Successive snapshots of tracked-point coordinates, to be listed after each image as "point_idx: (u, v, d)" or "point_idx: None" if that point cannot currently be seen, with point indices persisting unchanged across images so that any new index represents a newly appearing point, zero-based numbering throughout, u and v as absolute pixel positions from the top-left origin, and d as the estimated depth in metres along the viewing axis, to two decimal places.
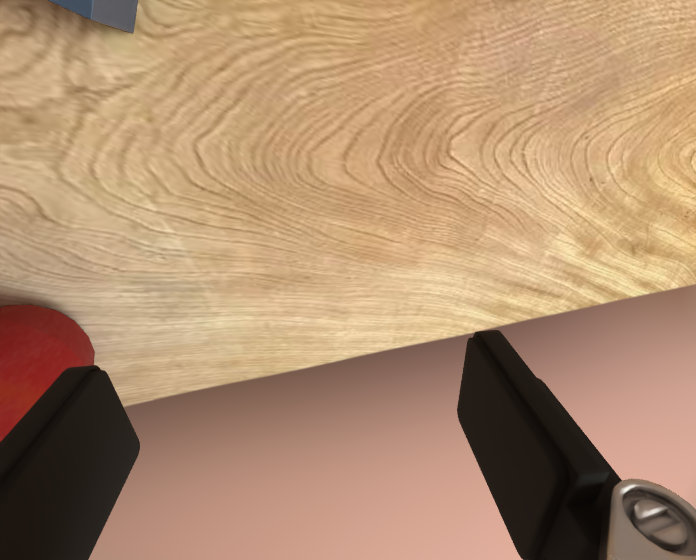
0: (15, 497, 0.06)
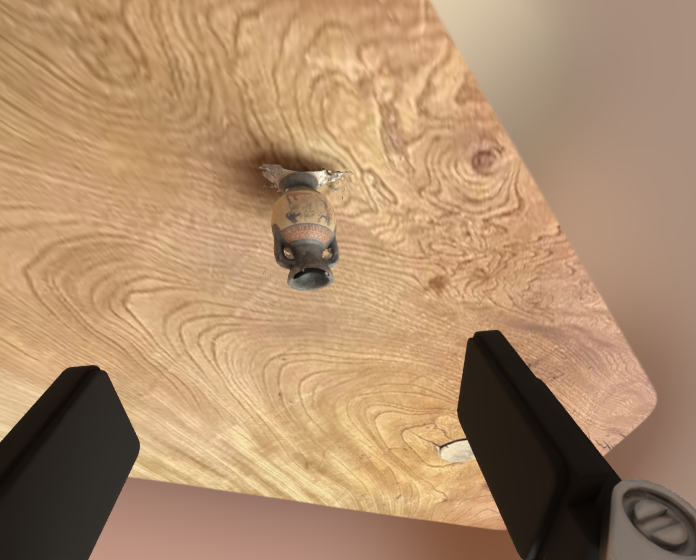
0: (15, 497, 0.06)
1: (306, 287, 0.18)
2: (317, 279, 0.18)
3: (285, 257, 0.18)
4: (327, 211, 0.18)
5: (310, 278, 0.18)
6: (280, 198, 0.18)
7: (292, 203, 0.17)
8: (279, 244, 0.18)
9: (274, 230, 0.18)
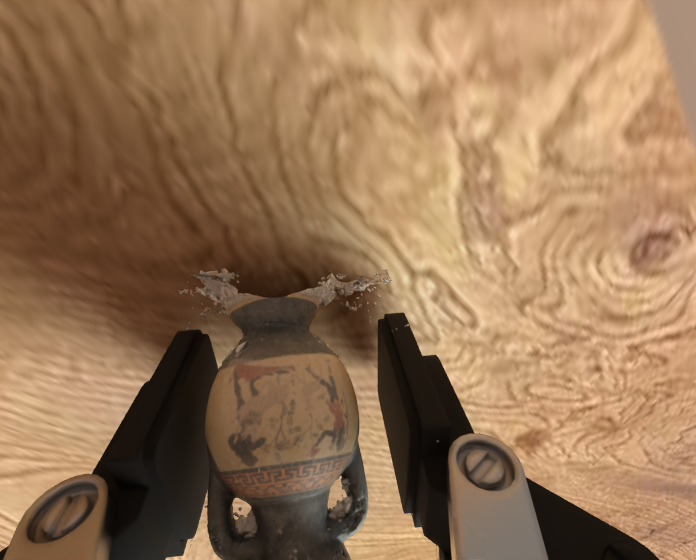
0: (170, 427, 0.07)
1: None
2: None
3: (234, 535, 0.07)
4: (336, 413, 0.07)
5: None
6: (223, 374, 0.07)
7: (245, 405, 0.07)
8: (218, 500, 0.07)
9: (208, 457, 0.07)
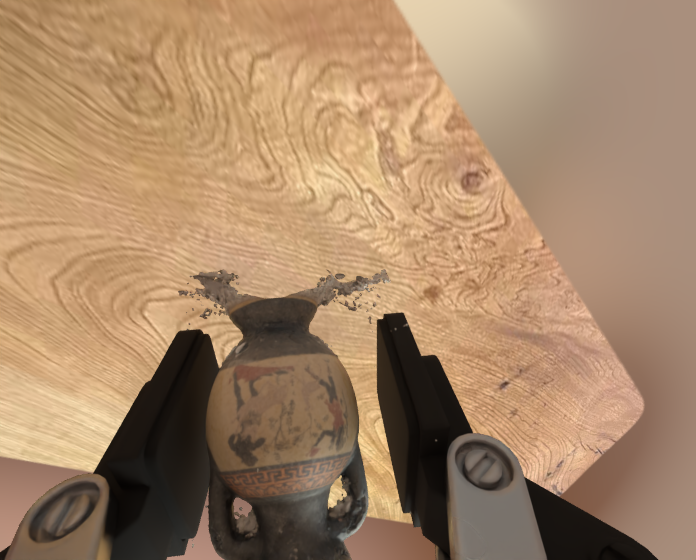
0: (172, 427, 0.07)
1: None
2: None
3: (235, 534, 0.07)
4: (336, 413, 0.07)
5: None
6: (223, 375, 0.07)
7: (245, 406, 0.07)
8: (219, 500, 0.07)
9: (209, 457, 0.07)
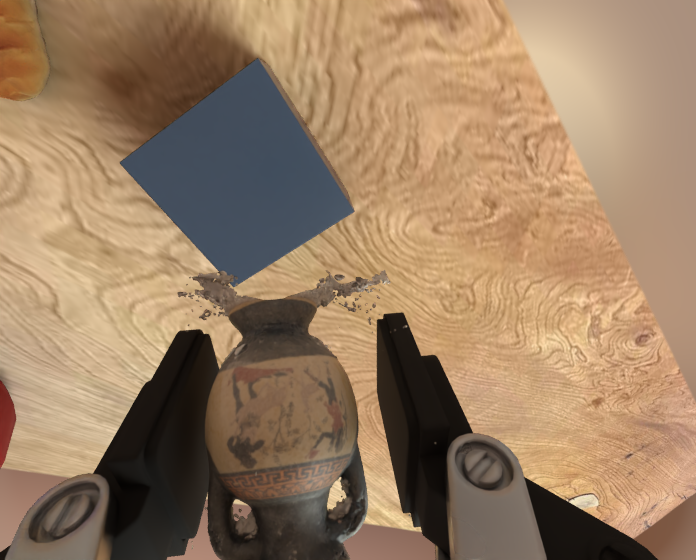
0: (172, 427, 0.07)
1: None
2: None
3: (234, 536, 0.07)
4: (334, 415, 0.07)
5: None
6: (222, 377, 0.07)
7: (244, 408, 0.07)
8: (219, 502, 0.07)
9: (208, 459, 0.07)
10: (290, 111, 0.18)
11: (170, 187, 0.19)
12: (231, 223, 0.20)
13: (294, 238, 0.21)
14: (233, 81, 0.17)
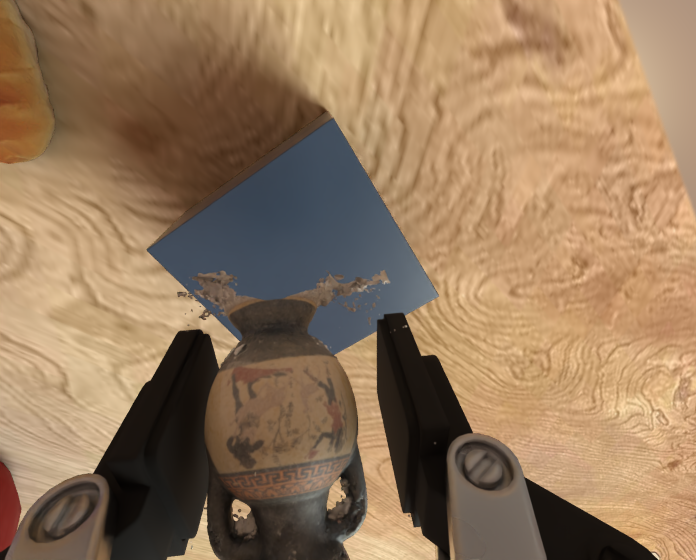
0: (171, 427, 0.07)
1: None
2: None
3: (233, 536, 0.07)
4: (334, 415, 0.07)
5: None
6: (221, 377, 0.07)
7: (243, 408, 0.07)
8: (218, 502, 0.07)
9: (208, 459, 0.07)
10: (370, 182, 0.14)
11: None
12: None
13: (362, 328, 0.17)
14: (298, 148, 0.13)
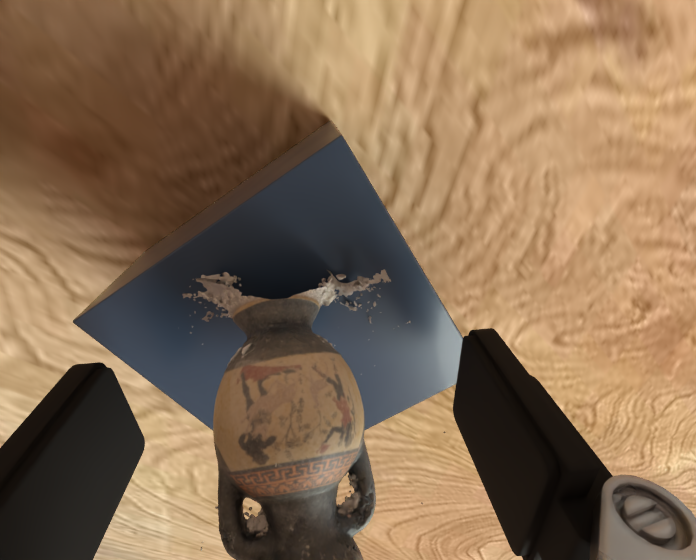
0: (25, 491, 0.06)
1: None
2: None
3: (245, 534, 0.07)
4: (343, 409, 0.07)
5: None
6: (230, 376, 0.08)
7: (254, 405, 0.07)
8: (229, 501, 0.07)
9: (218, 459, 0.07)
10: (393, 227, 0.09)
11: (167, 353, 0.11)
12: None
13: (377, 411, 0.13)
14: (289, 180, 0.09)
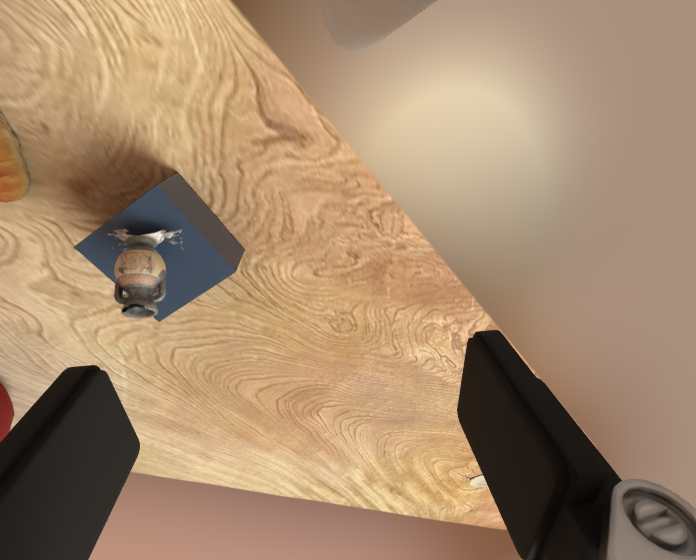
0: (16, 496, 0.06)
1: (142, 316, 0.27)
2: (149, 310, 0.27)
3: (121, 297, 0.26)
4: (149, 264, 0.26)
5: (145, 309, 0.27)
6: (119, 256, 0.26)
7: (122, 260, 0.26)
8: (117, 288, 0.26)
9: (115, 278, 0.26)
10: (182, 214, 0.28)
11: (108, 260, 0.29)
12: None
13: (196, 289, 0.31)
14: (142, 198, 0.27)
